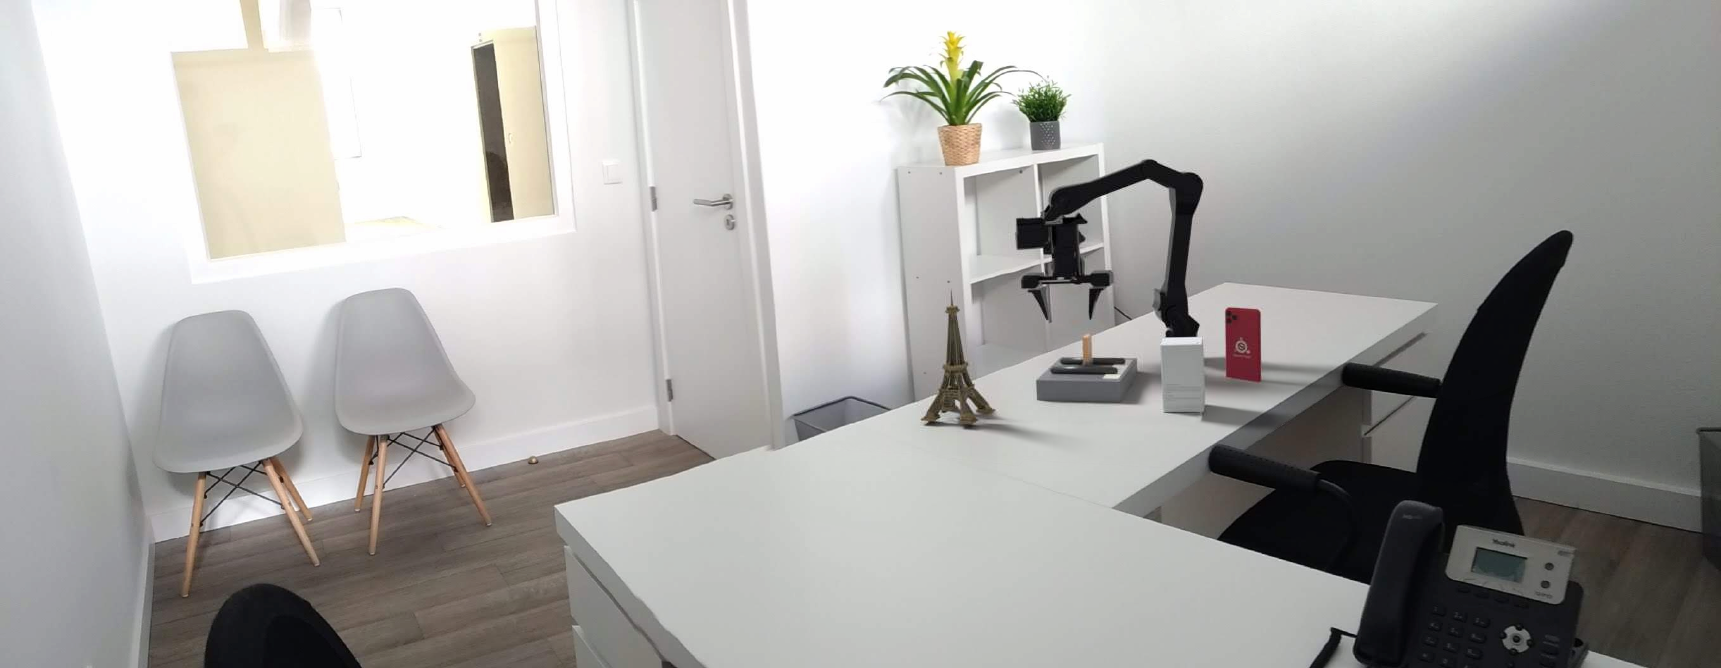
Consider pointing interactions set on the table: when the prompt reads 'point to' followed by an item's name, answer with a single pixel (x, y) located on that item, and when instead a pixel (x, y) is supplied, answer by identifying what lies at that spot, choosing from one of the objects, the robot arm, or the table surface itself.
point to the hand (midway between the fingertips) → (1069, 319)
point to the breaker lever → (1087, 351)
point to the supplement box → (1183, 374)
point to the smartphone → (1243, 343)
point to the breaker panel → (1087, 380)
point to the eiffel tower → (956, 379)
